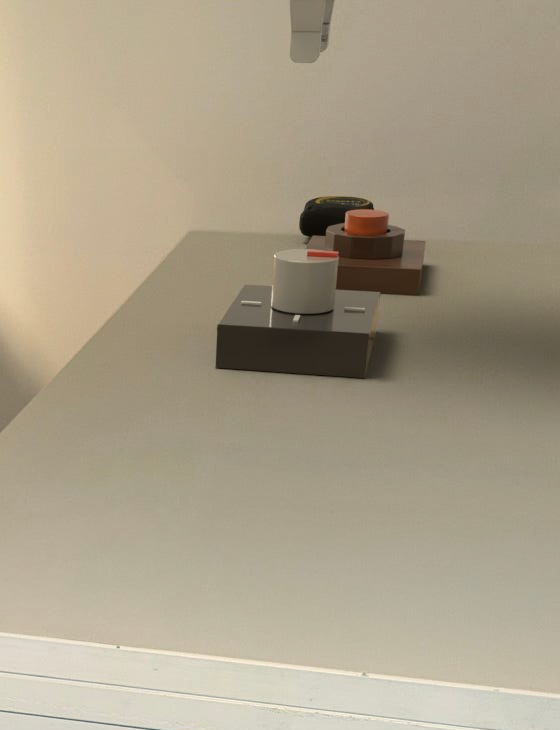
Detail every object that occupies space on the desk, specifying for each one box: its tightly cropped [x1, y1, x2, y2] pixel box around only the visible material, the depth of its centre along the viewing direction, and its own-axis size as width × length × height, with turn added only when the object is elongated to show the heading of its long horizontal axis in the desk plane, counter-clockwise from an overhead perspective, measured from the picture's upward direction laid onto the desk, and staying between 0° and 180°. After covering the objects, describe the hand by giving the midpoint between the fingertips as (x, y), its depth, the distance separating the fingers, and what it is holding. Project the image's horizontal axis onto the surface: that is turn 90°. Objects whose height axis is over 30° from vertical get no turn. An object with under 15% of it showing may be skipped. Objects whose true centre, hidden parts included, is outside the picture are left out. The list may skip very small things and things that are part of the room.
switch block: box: [304, 223, 427, 297], centre depth 112 cm, size 12×10×4 cm
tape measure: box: [298, 195, 375, 238], centre depth 126 cm, size 7×7×4 cm
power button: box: [344, 209, 390, 235], centre depth 111 cm, size 4×4×2 cm
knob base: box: [215, 284, 381, 379], centre depth 92 cm, size 12×10×3 cm
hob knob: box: [271, 248, 339, 314], centre depth 90 cm, size 4×4×4 cm
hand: (309, 56), depth 86 cm, fingers open, 8 cm apart
